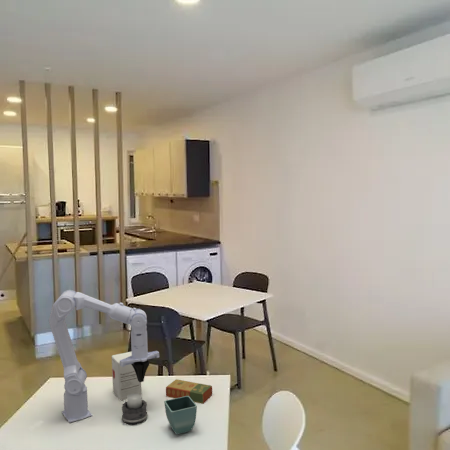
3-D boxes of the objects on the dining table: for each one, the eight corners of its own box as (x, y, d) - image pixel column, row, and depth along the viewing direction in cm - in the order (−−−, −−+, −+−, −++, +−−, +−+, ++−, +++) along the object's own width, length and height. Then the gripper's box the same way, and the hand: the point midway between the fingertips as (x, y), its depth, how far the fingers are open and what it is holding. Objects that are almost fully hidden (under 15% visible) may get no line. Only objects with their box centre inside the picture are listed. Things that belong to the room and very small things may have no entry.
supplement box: (112, 392, 177) (110, 355, 176) (134, 386, 182) (132, 350, 181) (119, 401, 169) (117, 362, 168) (142, 395, 174) (140, 357, 173)
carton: (176, 388, 180) (176, 378, 180) (212, 395, 174) (212, 384, 173) (165, 397, 172) (165, 386, 172) (203, 404, 166) (203, 393, 166)
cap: (125, 407, 156) (124, 396, 156) (138, 402, 159) (137, 392, 159) (131, 412, 152) (130, 401, 152) (144, 408, 155) (144, 397, 155)
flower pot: (164, 426, 151) (163, 400, 150) (189, 420, 154) (188, 395, 153) (172, 439, 143) (171, 412, 142) (198, 432, 146) (197, 406, 145)
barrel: (118, 417, 157) (117, 403, 157) (140, 410, 162) (140, 396, 162) (128, 427, 150) (128, 413, 150) (151, 419, 155) (151, 405, 155)
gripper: (125, 351, 154) (126, 390, 155) (162, 342, 162) (163, 379, 163) (116, 346, 159) (118, 383, 160) (153, 337, 168) (154, 373, 169)
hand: (140, 381), depth 162 cm, fingers closed
